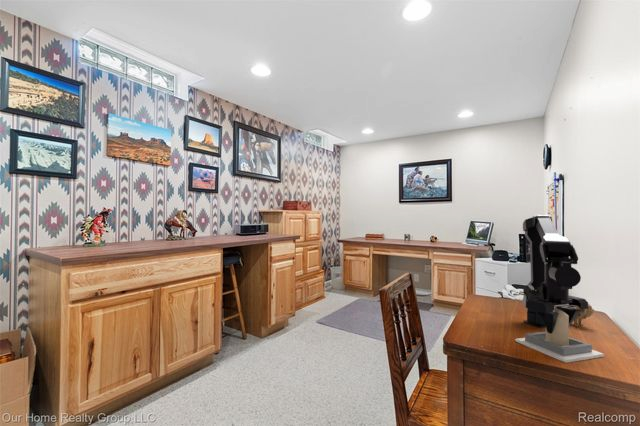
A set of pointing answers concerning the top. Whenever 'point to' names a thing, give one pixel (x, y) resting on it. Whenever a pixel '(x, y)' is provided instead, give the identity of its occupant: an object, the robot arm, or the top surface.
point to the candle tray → (560, 348)
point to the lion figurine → (583, 314)
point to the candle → (560, 330)
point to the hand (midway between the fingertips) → (556, 332)
